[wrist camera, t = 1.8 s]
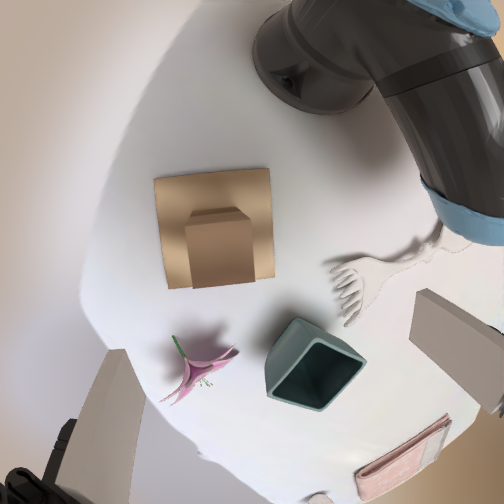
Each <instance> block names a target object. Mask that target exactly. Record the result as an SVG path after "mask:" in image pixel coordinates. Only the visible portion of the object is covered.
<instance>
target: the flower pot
mask: <svg viewBox="0 0 504 504" xmlns="http://www.w3.org/2000/svg"><path fill="white" fill-rule="evenodd" d="M366 363H367V361H366V360H365V359H364V358H363V357H362V356H361V355H359V354H358V353H357V352H356V351H355V350H354V349H353V348H352V347H350V346H349V345H348V344H347V343H346V342H344V341H343V340H341V339H339V338H337V337H335V336H333V335H331V334H329V333H327V332H326V331H324V330H322V329H320V328H318V327H316V326H314V325H312V324H310V323H309V322H307V321H305V320H303V319H300V318H296V319H294V320H293V321H292V322H291V323H290V324H289V326H288V327H287V328H286V330H285V331H284V332H283V334H282V335H281V336H280V338H279V339H278V340H277V341H276V343H275V344H274V345H273V347H272V348H271V350H270V352H269V354H268V356H267V359H266V362H265V382H266V391H267V396H268V397H270V398H272V399H276V400H279V401H282V402H285V403H289V404H292V405H296V406H299V407H303V408H306V409H310V410H313V411H318V412H321V411H323V410H324V409H325V408H327V407H328V406H329V405H330V404H331V403H332V401H333V400H334V399H335V398H336V397H337V396H338V395H339V394H340V393H341V392H342V391H343V390H344V389H345V387H346V386H347V385H348V384H349V383H350V382H351V381H352V380H353V379H354V378H355V377H356V376H357V374H358V373H359V372H360V371H361V370H362V369H363V368H364V366H365V365H366Z"/></svg>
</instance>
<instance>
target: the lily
mask: <svg viewBox="0 0 504 504" xmlns="http://www.w3.org/2000/svg"><path fill="white" fill-rule="evenodd" d="M172 338H173V340H174V342H175V344H176V345H177V347H178V349H179V351H180V353H181V354H182V356H183V358H184V359H185V363H186V366H185V373H184V377H183V381H182V383H181V385H180V386H179V387H178V389H177V390H175V391H174V392H173V393H172V394H170V395H169V396H168V397H166V398H165V399H163V400H161V401H160V402H163V401H165V400H167V399H169V398H171V397H172V396H174V395H175V394H176V393H177V392H178V391H179V390H180V392H179V395H178V397H177V400H176V401H175V402H174V403H173V404H175V403H176V402H178V401H179V400H181V399H182V398H183V397H185V396H186V395H187V394H188V393H189V392H190V391H191V390H192V389H193V387H194V386H195V383H197V382H198V381H200V380H201V379H202V378H203V377H205V376H206V375H207V374H208V373H212V372H215V371H217V370H219V369H221V368H222V367H224V366H225V365H226V364H227V363H229V362H230V361H231V360H232V359H233V358H234V357H235V356H236V355H235V356H234V357H233V358H231V359H228V360H223V361H217V360H220V359H222V358H224V357H225V356H226V355H227V354H228V353H229V352H230V351H231V350H232V349H233V347H234V346H235V344H236V343H235V344H234V345H233V346H232V347H231V348H230V349H229V350H228V351H226V352H225V353H224V354H223V355H222V356H220V357H218V358H217V359H215V360H212V361H191V360H188V359H187V358H186V356H185V355H184V353H183V351H182V350H181V348H180V346H179V344H178V343H177V341H176V339H175V337H174V336H172ZM215 361H216V362H215ZM203 379H204V378H203ZM203 379H202V380H203ZM203 381H204V380H203ZM206 381H207V380H206ZM204 382H205V381H204ZM207 382H208V381H207ZM200 383H201V381H200ZM205 383H206V382H205ZM208 383H209V382H208ZM200 385H201V387H202V384H200ZM206 385H207V386H209V387H210V385H208V384H207V383H206ZM211 385H213V384H211ZM180 388H181V389H180ZM160 402H158V403H160ZM173 404H172V405H173ZM170 406H171V405H170ZM170 406H169V407H170Z"/></svg>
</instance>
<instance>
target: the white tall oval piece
mask: <svg viewBox="0 0 504 504" xmlns="http://www.w3.org/2000/svg"><path fill="white" fill-rule="evenodd" d="M308 504H334V503H333V501H332V500H331V499H330V498H329V497H328V496H326V495H322V494H315V495H313V496H312V497H311V499H310V500H309V502H308Z"/></svg>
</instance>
